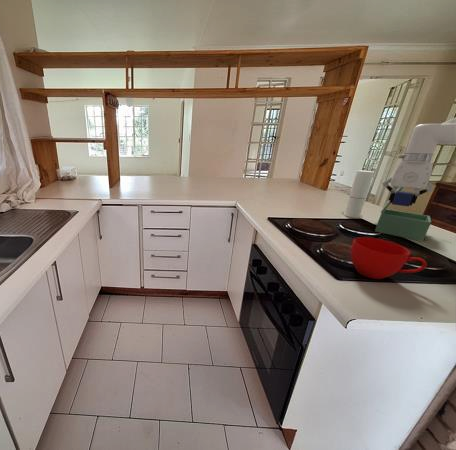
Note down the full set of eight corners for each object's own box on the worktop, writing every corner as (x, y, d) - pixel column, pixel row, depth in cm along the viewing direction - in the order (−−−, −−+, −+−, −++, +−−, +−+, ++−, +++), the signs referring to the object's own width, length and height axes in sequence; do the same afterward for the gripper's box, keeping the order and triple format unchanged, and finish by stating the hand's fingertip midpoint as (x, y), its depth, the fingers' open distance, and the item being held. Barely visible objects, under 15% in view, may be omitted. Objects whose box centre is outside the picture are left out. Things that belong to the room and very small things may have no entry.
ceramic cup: (417, 297, 65) (433, 265, 61) (342, 273, 75) (351, 245, 72) (414, 278, 73) (427, 249, 70) (347, 259, 84) (355, 234, 81)
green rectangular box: (421, 233, 109) (429, 215, 106) (422, 241, 101) (431, 222, 97) (377, 225, 119) (383, 208, 116) (374, 231, 111) (381, 213, 108)
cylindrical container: (358, 215, 135) (373, 170, 126) (360, 218, 129) (375, 172, 120) (342, 213, 138) (356, 169, 129) (344, 216, 132) (358, 171, 124)
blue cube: (409, 204, 97) (413, 192, 96) (408, 206, 94) (413, 194, 92) (392, 202, 101) (396, 190, 99) (391, 204, 97) (395, 192, 96)
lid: (409, 176, 107) (395, 172, 110) (409, 179, 99) (394, 174, 102) (384, 208, 116) (371, 203, 119) (382, 213, 108) (368, 207, 110)
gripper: (386, 157, 94) (372, 201, 101) (452, 160, 83) (431, 209, 89) (387, 156, 99) (374, 198, 105) (450, 158, 88) (430, 205, 94)
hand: (400, 203), depth 97 cm, fingers closed on blue cube, 5 cm apart
